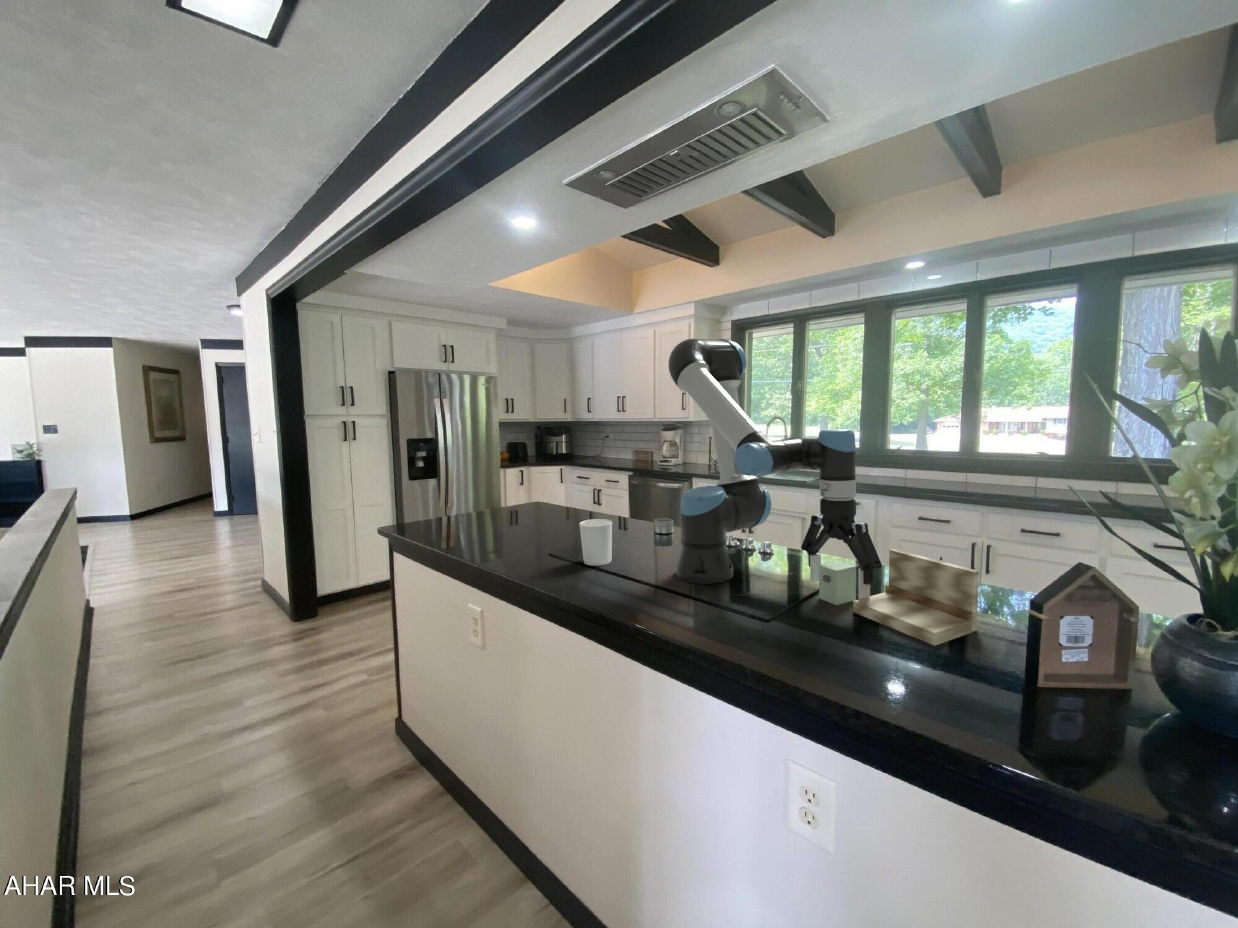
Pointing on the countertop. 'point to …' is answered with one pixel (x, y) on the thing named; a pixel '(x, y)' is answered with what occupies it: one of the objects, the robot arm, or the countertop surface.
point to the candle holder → (596, 541)
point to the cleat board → (925, 599)
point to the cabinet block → (837, 582)
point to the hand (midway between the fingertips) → (839, 589)
